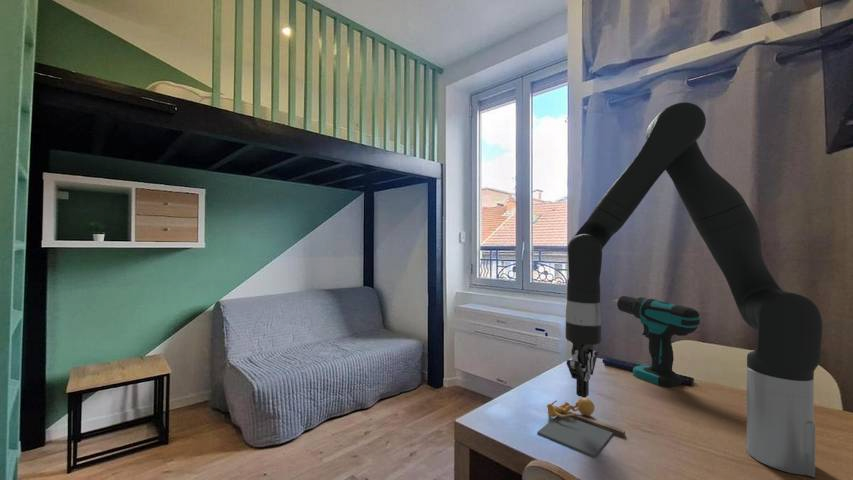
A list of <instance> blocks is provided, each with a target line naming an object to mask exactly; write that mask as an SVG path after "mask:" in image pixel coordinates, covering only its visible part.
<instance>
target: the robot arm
mask: <svg viewBox="0 0 853 480" xmlns="http://www.w3.org/2000/svg"><path fill="white" fill-rule="evenodd" d="M706 123H707V118H706V113H705V112H704V110H703V109H702V108H701V107H700V106H698V105H697V104H695V103H692V102H688V101H687V102H686V101H685V102H677V103H674V104H671V105H669V106H667V107H666V108H664V109H663V110H662V111H660V112H659V113H658V114H657V115H656V117H655V116H654V119H653V120H652V121H651V122H650V124H649V125H648V127H647V129H646V133H645V142H644V144H643V146H642V147H641V148H640V150H639V151H638V153H637V155H636V157H634V159H633V160H632V162H631V163H629V165H628V166H627V168H626V169H625V170H624V171H623V172H622V173H621V174H620V176H619V177H618V178H617V179H616V180H615V182H613V184H612V185H611V186H610V187H609V188H608V190H607V191H606V192H605V194H604V195H603V196H602V198H601V199H600V200H599V202H598V203H597V205H596V206H595V207H594V208H593V210H592V212H591V213H590V215H589V217H588V218H587V220H586V221H585V222H584V223H583V224H582V226H581V227H580V228H579V229H578V230H577V232H576V233H575V234H574V236H573V237H572V238H571V239H570V241H569V242H568V244H567V246H566V251H567V259H568V260H567V261H568V279H567V284H566V285H567V286H566V306H565V339H566V340H567V341H568V342H571V344H572V348H571V350H570V355H571V357H572V358H571V359H569V358H567V360H566V366H567V368H568V371H569V373H570V376H571V379H575V380H576V383H575V384H576V395H577V396H578V397H581V398H588V396H589V393H590V391H589V390H590V389H589V387H590V384H589V382H590V379H591V376H593V375H594V370H595V366H596V363H597V359H598V355H599V354H598V351H597V350H595V349H594V346H597V345H599V344H601V343H602V307H601V282H600V281H601V273H602V271H601V270H602V261H603V249H604V247H605V246H606V245H607V243H608V242H609V240H611V238H612V237H613V236H614V235H615V234H616V233H618V231H620V230H621V228H623V226H624V225H625V223H626V222H627V221H628V220H629V218H630V217H631V215H632V214H633V213H634V211H635V210H636V209H637V208H638V207H639V205H640V203H641V202H642V200H643V199H644V198H645V197H646V195H647V194H648V192H649V191H650V190H651V188H653V186H654V184H655V183H656V182H657V181H658V180H659V178H660V177H661V176H662V174H663V173H664V172H665V171H666V173H667V175H668V176H669V177H670V179H671V182H672V183H673V185H674V188H675V189H676V192H677V194H678V195H679V198H680V200H681V201H682V203H683V205H684V207H685V208H686V211H687V213H688V215H689V217H690V218H691V221H692V223H693V225H694V226H695V229H696V230H697V231H698V233H699V235H700V237H701V239H702V240H703V241H704V244H705V245H706V247H707V249H708V251H709V252H710V253H711V256H712V257H713V259H714V261H715V262H716V264H717V266H718V267H719V269H720V271H721V272H722V273H723V276H724V278H725V280H726V282H727V284H728V287H729V289H730V291H731V294H732V297H733V300H734V302H735V304H736V307H737V310H738V311H739V314H740V316H741V318H742V319H743V321H744V322H745V323H746V324H747V325H748V326H750V327H751V328H752V329H753V330H756V331H757V343H756V344H757V345H756V348H755V350H752V351H749V352H748V353H747V355H746V441H745V442H746V452H747V453H748V454H749V456H750V457H752V458H753V459H754V460H755V461H758V462H760V463H762V464H764V465H765V466H768V467H770V468H773V469H776V470H779V471H782V472H786V473H789V474H795V475H802V476H808V477H812V478H816V424H815V419H814V418H815V417H814V416H815V415H814V414H815V413H814V411H815V409H814V407H815V405H814V401H815V400H814V397H815V396H814V389H815V388H814V387H815V386H814V385H815V384H814V383H815V382H814V380H815V379H814V378H815V377H814V375H815V370H816V369H817V367H818V366H819V364H820V361H821V355H822V354H821V352H822V339H823V320H822V315H821V312H820V310H819V308H818V306H817V305H816V303H814V302H813V300H811V299H809V298H807V297H806V296H803V295H802V294H800V293H799V294H798V293H795V292H794V293H793V292H790V291H785V290H783V289H782V288H781V287H780V286H779V284H778V283H777V282H776V280H775V278H774V276H772V274H771V272H770V271H769V269H768V267H767V265H766V263H765V260H764V257H763V254H762V253H763V252H762V243H761V241H762V240H761V233H760V229H759V225H758V222H757V219H756V217H755V216H754V214H753V212H752V211H751V209H750V207H749V206H748V203H747V202H746V200H745V199H744V196H743V195H741V193H740V192H739V191H738V190H737V189H736V188H735V187H734V186H733V185H732V184H731V183H730V182H729V181H727V180H726V178H724V177H723V176H722V175H721V174H720V173H718V172H717V171H716V170H715V169H714V168H712V166H711V165H710V164H709V163H708V161H707V159H706V158H705V156H704V154H703V152H702V150H701V149H700V146H699V144H698V141H697V140H698V139H699V138H700V137H701V136H702V134H703V132H704V131H705V128H706Z"/></svg>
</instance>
